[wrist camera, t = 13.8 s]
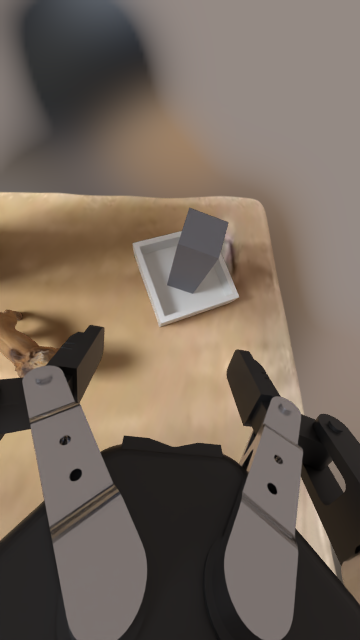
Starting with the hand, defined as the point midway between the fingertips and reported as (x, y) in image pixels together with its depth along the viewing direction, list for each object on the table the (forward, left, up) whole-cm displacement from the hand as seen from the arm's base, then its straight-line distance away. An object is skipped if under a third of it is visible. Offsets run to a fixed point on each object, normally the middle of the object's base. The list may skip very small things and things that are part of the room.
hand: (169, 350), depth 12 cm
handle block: (+8, +10, -18) cm, 22 cm away
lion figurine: (-14, +6, -19) cm, 25 cm away
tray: (+8, +10, -19) cm, 23 cm away
